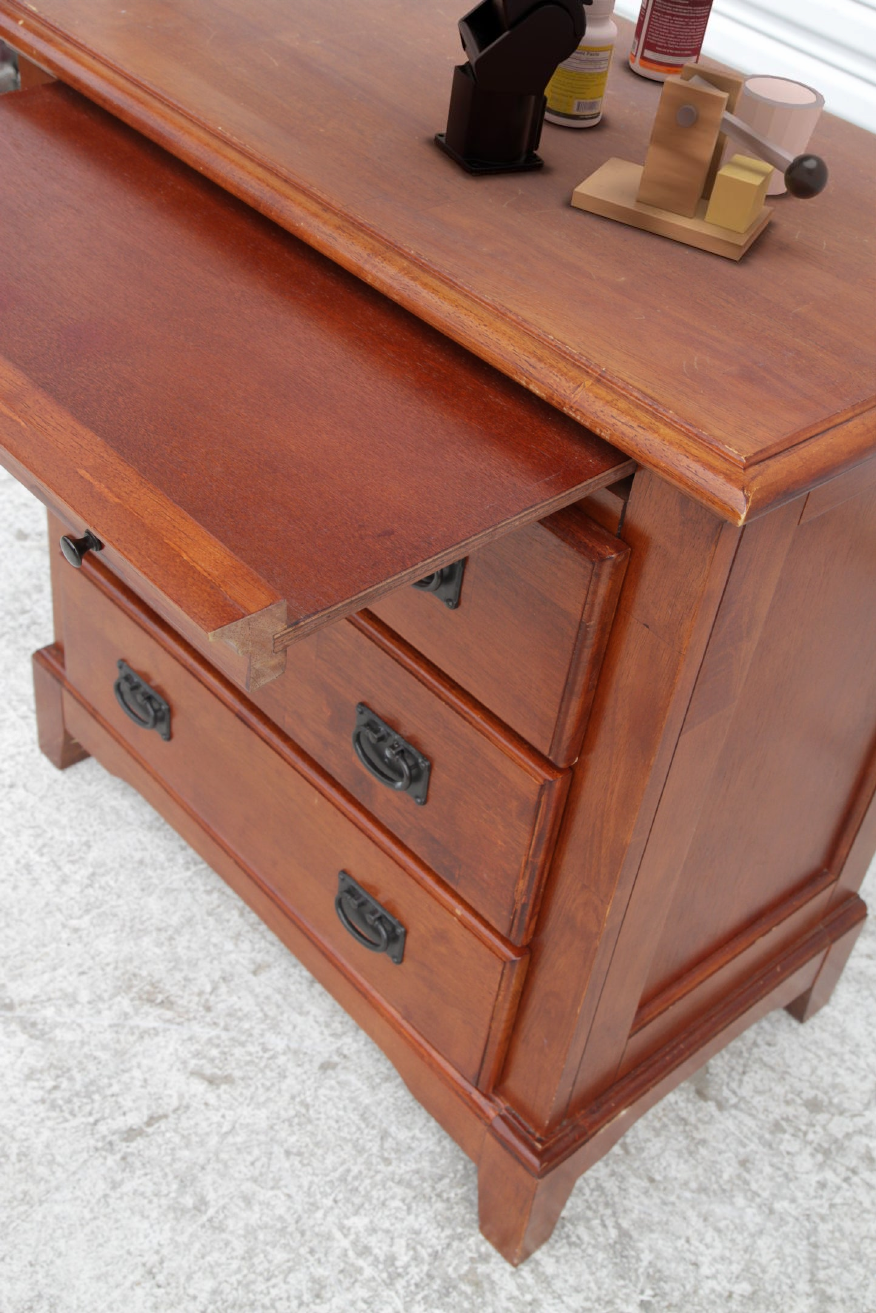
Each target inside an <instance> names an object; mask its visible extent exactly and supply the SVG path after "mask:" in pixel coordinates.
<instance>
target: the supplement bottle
mask: <svg viewBox="0 0 876 1313" xmlns="http://www.w3.org/2000/svg"><path fill="white" fill-rule="evenodd" d="M615 5H616V0H593V4H592V5H591V6H589V5H583V7H584V9H585V13H586V23H587V26H586V33H585V36H584V37H583V38H582V40H581V42H580V44H579V46H578V48H577V49H576V51H575V52H574V53H573V54H572V55H571V56H570V57H569V58H568V59H567V60H565V61H564V62H562V63H560V64H559V65H558V67H557V69H556V70H555V72H554V74H553V76H552V78H551V80H550V81H549V83H548V85H547V87H546V89H545V93H544V94H545V95H546V96H547V98H548V101H547V107H546V112H545V118H544V120H547V121H548V122H550V123H553V124H556V125H559V126H564V127H568V128H569V127H570V128H588V127H593V126H595V125H597V124H598V123H599V122H600V121H601V119H602V115H603V111H604V107H605V101H606V96H607V91H608V87H609V82H610V77H611V72H612V66H613V61H614V56H615V52H616V46H617V40H618V35H619V34H618V33H619V32H618V31H619V30H618V28H617V25H616V24H615V22H613V21H612V20H611V19H610V16H613V14H614V10H615Z"/></svg>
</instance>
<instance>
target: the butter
mask: <svg viewBox="0 0 876 1313" xmlns="http://www.w3.org/2000/svg"><path fill="white" fill-rule="evenodd" d="M774 168H775V167H773V166H772V165H770V164H767V163H764V162H761V161H758V160H754V159H751V158H748V157H745V156H742V155H738V154H735V155H734V156H733V157H732V158H731V159H730V160H729V161H728V162H727V163H726V165H725V166H724V167H723V168H722V169H721V170H720V171H719V172H718V173H717V177H716V180H715V184H714V188H713V191H712V195H711V198H710V202H709V205H708V209H707V212H706V216H705V220H704V221H705V222H708V223H711V224H714V225H717V226H720V227H724V228H727V229H730V230H733V231H736V232H739V233H742V234H744V232H745V231H746V230H747V229H748V228H749V226H750V225H751V224H752V223H753V222H754V220H755V219H756V218H757V217H758V215H759V214H760V213H761V210H762V206H763V205H764V202H765V200H766V197H767V195H766V193H767V190H768V187H769V184H770V181H771V177H772V174H773V171H774Z"/></svg>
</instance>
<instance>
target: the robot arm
mask: <svg viewBox="0 0 876 1313" xmlns="http://www.w3.org/2000/svg"><path fill="white" fill-rule="evenodd" d="M592 4H593V0H481V1H480V2H479V3H477V4H476V5H475V6H474V7H473V8H472V9H470V11H468V12H467V13H466V14H464V15H463V17H461V18H459V20H458V22H457V27H458V28H457V29H458V32H459V33H458V34H459V38H460V42H461V47H462V50H463V52H465V54H466V57H467V61H465V62H464V63H463V64H456V65H454V67H453V77H452V83H451V89H450V90H451V91H450V98H449V105H448V113H447V121H446V128H445V132H436V133H435V134H434V137H433V138H434V142H435V143H436V144H437V145H438V146H439V147H440V148H441V149H443V150H444V151H445V153H447V154H448V155H449V156H451V158H452V159H454V160H455V161H456V162H457V163H458V164H459V165H461V167H463V169H465V170H466V171H467V172H468V173H470V174H473V175H479V174H490V173H492V174H493V173H502V172H513V171H514V172H515V171H525V170H526V171H527V170H536V169H537V170H538V169H542V168H544V165H545V164H544V163H545V160H544V159H543V158H542V157H540V156H539V155H538V154H537V153H536V152H537V151H538V150H539V148H540V145H541V139H542V134H543V128H544V122H545V112H546V107H547V101H548V98H547V96H546V95H545V94H544V93H545V89H546V87H547V85H548V83H549V81H550V80H551V78H552V76H553V74H554V72H555V70H556V69H557V67H558V65H559V64H560V63H562V62H564V61H565V60H567V59H568V58H569V57H570V56H571V55H572V54H573V53H574V52H575V51H576V49H577V48H578V46H579V44H580V42H581V40H582V38H583V37H584V36H585V33H586V26H587V23H586V13H585V9H584V7H583V5H589V6H591V5H592Z"/></svg>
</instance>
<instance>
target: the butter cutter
mask: <svg viewBox="0 0 876 1313" xmlns="http://www.w3.org/2000/svg"><path fill="white" fill-rule="evenodd" d="M695 75H698V76H699V77H701V78H702V79H704V80H705V81H707V82H708V83H710V84H711V85H713V86H714V87H716V88H717V89H719V90H720V91H719V90H715V89H712V88H709V87H705V86H702V85H699V84H695V83H692V82H689V80H690V79H692V78H693V77H694V76H695ZM745 81H746V78H743V77H742V76H739V75H737V74H732V73H729V72H726V71H723V70H719V69H716V68H712V67H709V66H706V65H703V64H699V63H698V64H696V63H693V62H689V61H687V62H686V63H685V64H684V65H683V68H682V72H681V76H680V79H679V78H675V77H672V76H669V77H667V78H666V79H665V81H664V82H663V86H662V90H661V94H660V98H659V102H658V106H657V111H656V115H655V119H654V123H653V127H652V132H651V135H650V141H649V142H648V143H649V144H648V147H647V152H646V156H645V160H644V165H640V164H637V163H634V162H632V161H628V160H625V159H622V158H618V157H614V156H611V157H610V158H609V159H608V160H607V161H606V162H604V163H603V164H602V165H601V166H599V167H598V169H596V170H595V171H594V172H592V174H590V175H589V176H587V178H585V180H583V181H582V182H581V183H579V184H578V186H576V187H575V188H574V189H573V191H572V192H573V193H572V197H571V201H570V206H572V207H575V208H577V209H581V210H583V211H587V212H590V213H593V214H595V215H598V216H602V217H605V218H607V219H611V220H614V221H617V222H620V223H623V224H626V225H629V226H632V227H635V228H637V229H640V230H643V231H647V232H650V233H652V234H657V235H658V236H662V237H665V238H668V239H670V240H673V241H676V242H680V243H683V244H686V245H688V246H692V247H695V248H698V249H699V250H700V249H701V250H704V251H707V252H708V253H709V252H710V253H713V254H716V255H719V256H722V257H724V258H728V259H731V260H734V261H736V262H738V261H739V260H740V259H741V258H742V257H743V255H744V254H745V253H746V252H747V250H748V249H749V247H751V245H752V244H753V243H754V242H755V240H756V239H757V238H758V236H760V234H761V233H762V232H763V230H764V229H765V228H766V227H767V225H768V224H769V222H770V219H771V216H772V212H773V210H774V207H772V206H769V205H766V204H765V205H764V204H763V206H762V210H761V213H760V214H759V215H758V217H757V218H756V219H755V220H754V222H753V223H752V224H751V225H750V226H749V228H748V229H747V230H746V231H745V232H744V234H742V233H739V232H736V231H733V230H730V229H727V228H724V227H720V226H717V225H714V224H711V223H708V222H705V221H704V220H705V216H706V212H707V209H708V205H709V202H710V198H711V195H712V191H713V188H714V184H715V180H716V177H717V173H718V172H719V171H720V169H721V166H722V162H723V159H724V155H725V151H726V148H727V144H728V141H729V137H728V136H727V135H725V134H724V133H722V132H721V131H719V130H720V126H721V123H722V119H723V115H724V112H725V110H726V111H727V112H729V113H730V114H732V115H733V116H736V112H737V109H738V105H739V102H740V98H741V95H742V91H743V88H744V84H745ZM728 97H729V98H728Z"/></svg>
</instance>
